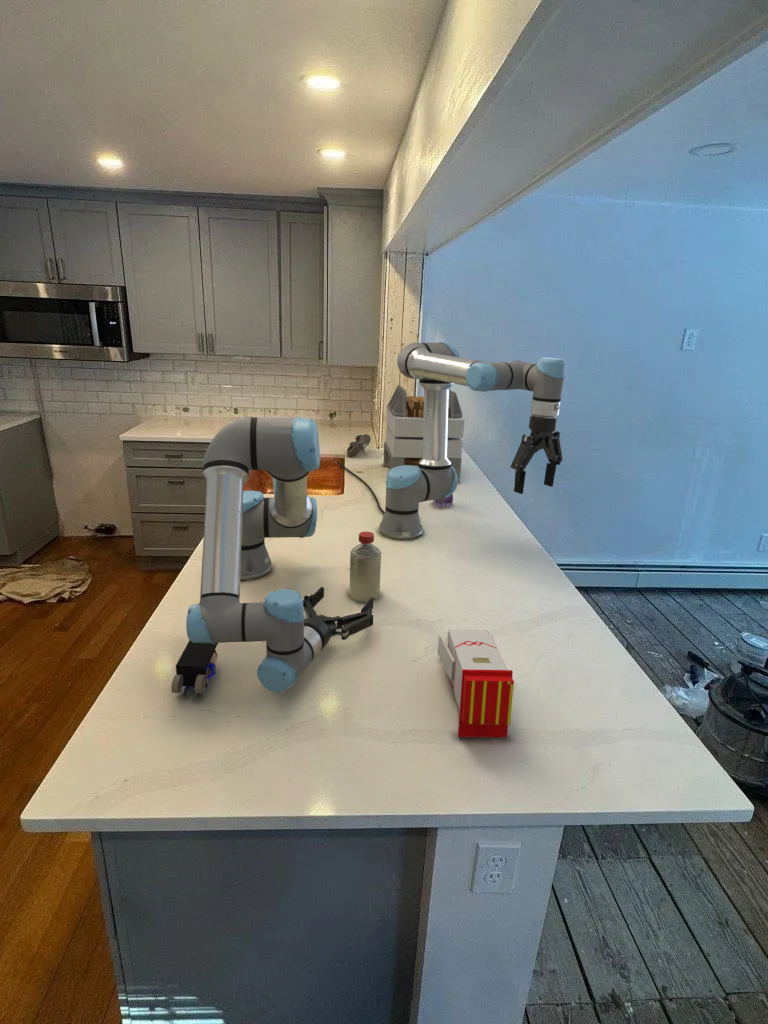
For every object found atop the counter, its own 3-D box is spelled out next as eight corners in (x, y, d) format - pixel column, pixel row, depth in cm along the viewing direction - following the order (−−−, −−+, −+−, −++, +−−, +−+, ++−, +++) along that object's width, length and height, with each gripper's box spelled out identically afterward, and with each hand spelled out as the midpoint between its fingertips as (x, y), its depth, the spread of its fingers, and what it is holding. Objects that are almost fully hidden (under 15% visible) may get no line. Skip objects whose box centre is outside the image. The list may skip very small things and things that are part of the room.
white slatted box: (382, 463, 289) (386, 382, 275) (445, 464, 293) (451, 384, 279) (390, 482, 257) (394, 392, 243) (460, 483, 261) (468, 394, 247)
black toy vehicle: (206, 709, 112) (224, 658, 125) (202, 680, 108) (221, 630, 122) (172, 708, 112) (194, 657, 125) (167, 679, 108) (190, 629, 122)
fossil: (346, 440, 316) (367, 425, 311) (357, 453, 319) (378, 438, 314) (340, 453, 296) (362, 438, 291) (351, 468, 299) (374, 452, 294)
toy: (488, 613, 130) (523, 677, 101) (484, 667, 133) (517, 744, 104) (435, 612, 130) (455, 676, 101) (432, 666, 133) (451, 743, 103)
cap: (360, 544, 149) (360, 537, 148) (357, 538, 152) (357, 531, 152) (375, 543, 150) (375, 536, 149) (372, 537, 153) (372, 531, 153)
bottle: (352, 603, 152) (353, 542, 146) (347, 588, 159) (348, 530, 153) (382, 601, 154) (385, 540, 148) (375, 587, 161) (378, 529, 155)
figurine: (439, 510, 225) (442, 474, 220) (426, 502, 233) (428, 467, 228) (459, 507, 229) (462, 471, 224) (445, 500, 237) (448, 465, 232)
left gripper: (259, 641, 129) (303, 600, 148) (360, 668, 121) (392, 620, 140) (257, 612, 127) (302, 574, 146) (361, 637, 119) (394, 594, 138)
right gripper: (525, 422, 147) (515, 499, 154) (582, 414, 161) (570, 485, 168) (503, 416, 152) (494, 492, 159) (560, 410, 167) (549, 479, 174)
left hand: (347, 597), depth 143 cm, fingers open, 13 cm apart
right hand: (533, 489), depth 164 cm, fingers open, 13 cm apart
